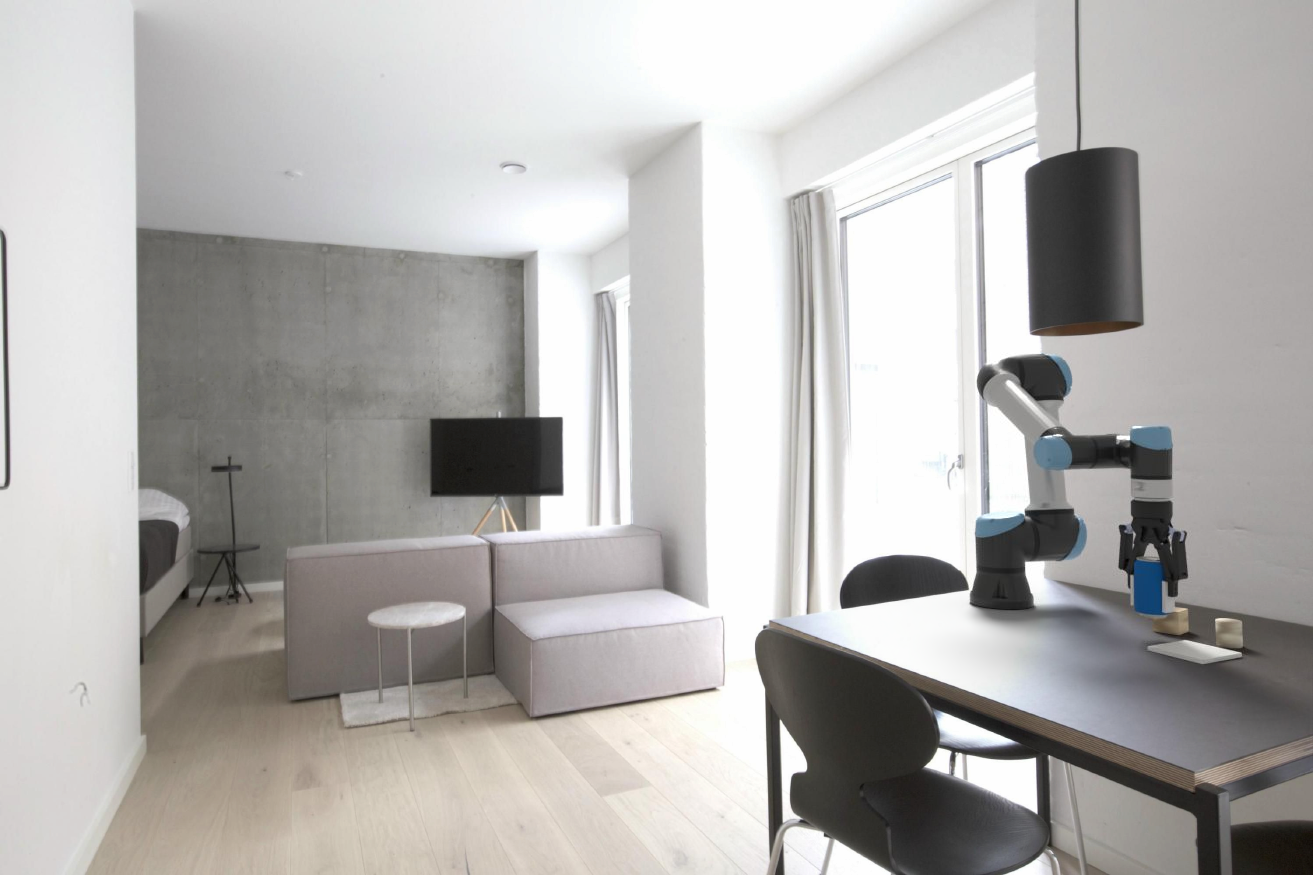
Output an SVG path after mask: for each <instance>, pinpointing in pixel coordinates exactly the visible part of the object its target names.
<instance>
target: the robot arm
mask: <svg viewBox="0 0 1313 875" xmlns="http://www.w3.org/2000/svg"><path fill="white" fill-rule="evenodd" d="M1072 386H1073V375H1072V371H1071V368H1070V365H1069V364H1068V363H1067V361H1066V360H1065V359H1063V357H1061V356H1060V355H1057V354H1046V353H1035V354H1034V353H1032V354H1029V353H1027V354H1001V355H997V356H995V357H992V358H990V359H989V360H988V361H986V362H985V363H984V364H983V365H982V366H981V368H980V369H979V371H978V375H977V377H976V388H977V391H978V393H979V395H980V397H981V399H983V400H984V402H986V404H988V405H989V406H991V407H994V408H997V409H998V410H999V411H1000V412H1001V413H1002V414H1003V416H1005V417H1006V418H1007V419H1008V420H1009V421H1010V422H1011V423H1012V424H1013V426H1014V427H1015V428H1017V430H1018V431H1019V432H1020V433H1021V434H1022V435H1023V436H1024V447H1025V448H1024V450H1025V459H1026V471H1027V481H1028V483H1027V484H1028V493H1029V494H1028V495H1029V504H1028V505H1026V507H1025V508H1024V512H1023V511H1019V510H1006V511H1005V510H1003V511H1002V510H1001V511H995V512H989V513H985V514H982V515H980V516H978V517H977V518H976V520H975V526H974V527H975V528H974V536H975V537H974V538H975V541H974V542H975V564H976V565H975V567H976V570H975V571H976V572H975V575H974V578H973V584H972V589H971V590H970V592H969V603H970V604H972V605H974V606H978V607H982V608H987V609H995V610H996V609H997V610H1022V609H1023V610H1024V609H1029V608H1033V607H1034V605H1035V603H1034V602H1035V601H1034V600H1035V598H1034V593H1031V592H1032V591H1031V587H1030V584H1029V580H1028V578H1027V575H1026V574H1027V573H1026V563H1030V562H1031V563H1034V562H1063V561H1071V560H1072V561H1073V560H1075V559H1076V558H1078V557H1079V556H1081V554H1082V552H1084V549H1085V547H1086V544H1087V539H1088V530H1087V525H1086V523H1084V520H1083V517H1081V516H1080V515H1078V514H1076V513H1075V507H1074V506H1073V505H1071V504H1070V503H1069V502H1068V501H1067V499H1068V498H1067V489H1066V479H1065V470H1066V471H1067V470H1069V471H1070V470H1096V469H1097V470H1098V469H1102V470H1106V469H1107V470H1108V469H1126V470H1130V476H1129V477H1130V496H1131V497H1132V498H1133V499H1131V500H1130V515H1131V517H1132V520H1131V523H1125V524H1119V525H1118V530H1119V534H1120V536H1119V538H1120V539H1119V550H1118V551H1119V554H1118V563H1117V564H1118V569H1119V570H1122V571H1124V572H1125V573H1126V574H1127V587H1128V588H1127V589H1130V592H1129V593H1130V606H1134V563H1135V561H1136V560H1137V559H1136V558H1137V557H1141V556H1145V554H1146V551H1147V548H1148V546H1149V545H1150V544H1151V545H1153V548H1154V549H1155V550H1156V553H1157V555H1158V556H1157V557H1159V559H1160V562H1161V565H1162V568H1163V571H1164V575H1165V578H1166V579H1163V580H1164V581H1162V612H1163V613H1170V612H1175V607H1176V605H1175V604H1176V599H1175V598H1177V597H1178V595H1179V582H1180V581H1181V580H1182V581H1183V580H1187V579H1188V578H1189V573H1188V572H1189V571H1188V562H1187V552H1186V550H1187V549H1186V539H1187V537H1188V532H1187V531H1186V530H1179V529H1177V528H1174V526H1173V523H1172V518H1173V515H1174V511H1173V510H1174V507H1173V506H1174V505H1173V504H1174V502H1173V501H1172V500H1170V499H1172V498H1173V496H1174V495H1173V493H1174V492H1173V490H1174V488H1173V487H1174V486H1173V448H1174V443H1173V438H1172V429H1171V428H1170V426H1167V425H1134V426H1132V427H1131V428H1130V430H1129V434H1120V433H1106V434H1085V435H1082V434H1081V435H1079V434H1077V435H1075V434H1073V433H1071V432H1070V431H1069V430H1068V429H1067V428H1066V427H1065V426H1064V425H1062V424H1061V422H1060V414H1059V410H1060V408H1061V407H1062V406H1063V405H1064V404H1065V401H1064V400H1065V399H1064V398H1065V397H1067V396H1068V395H1069V394H1070V392H1071V390H1072V388H1071V387H1072ZM1134 533H1135V535H1134ZM1170 539H1171V542H1170Z"/></svg>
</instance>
